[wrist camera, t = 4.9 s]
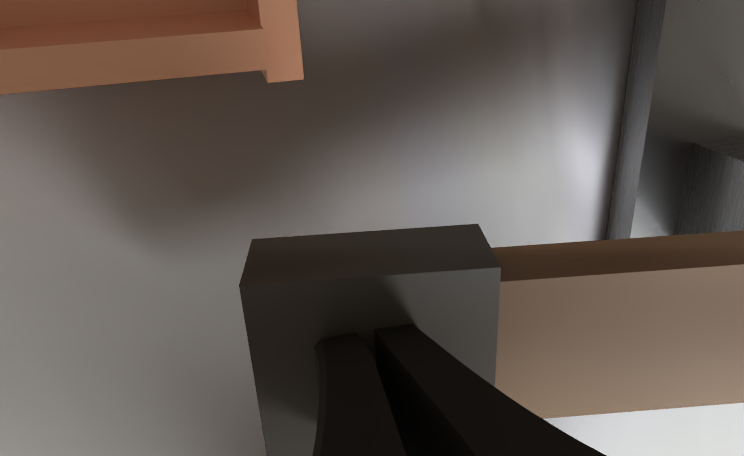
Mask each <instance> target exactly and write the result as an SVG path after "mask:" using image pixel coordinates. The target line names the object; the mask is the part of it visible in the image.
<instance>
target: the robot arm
mask: <svg viewBox="0 0 744 456" xmlns="http://www.w3.org/2000/svg"><path fill="white" fill-rule="evenodd" d="M374 332H375V350H376V364H375V362H374V359H373V356H372V354H371V353H370V351H369V349H368V348H367V346H366V344H365V343H364V341H363V340H362V339H361V337H360V336H359V335H358V333H357V332H356V333H350V334H345V335H340V336H335V337H330V338H325V339H320V340H319V341H318V343H317V344H316V345H315V346H314V352H315V361H316V371H317V380H318V389H319V406H318V418H317V429H316V437H315V444H314V450H313V455H312V456H606V455H604V454H602V453H600V452H599V451H597V450H595V449H593V448H591V447H589V446H587V445H586V444H584V443H582V442H580V441H578V440H577V439H575V438H573V437H571V436H570V435H568V434H566V433H565V432H563V431H561V430H559V429H558V428H556V427H555V426H553V425H551V424H550V423H548V422H547V421H545V420H543V419H542V418H540V417H539V416H537V415H536V414H534V413H532V412H531V411H529V410H528V409H526V408H525V407H523V406H521V405H520V404H518V403H517V402H516V401H514V400H513V399H511V398H510V397H508V396H507V395H505V394H504V393H503V392H501V391H500V390H498V389H497V388H496V387H494V386H493V385H491V384H490V383H489V382H487V381H486V380H484V379H483V378H482V377H480V376H479V375H478V374H476V373H475V372H474V371H472V370H471V369H470V368H468V367H467V366H466V365H464V364H463V363H462V362H460V361H459V360H458V359H457V358H455V357H454V356H453V355H451V354H450V353H449V352H447V351H446V350H445V349H444V348H442V347H441V346H440V345H439V344H437V343H436V342H435V341H434V340H432V339H431V338H430V337H429V336H427V335H426V334H425V333H423V332H422V331H421V330H420V329H418V328H417V327H416V326H414V325H413V324H409V325H401V326H393V327H386V328H378V329H374Z"/></svg>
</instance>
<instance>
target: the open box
mask: <svg viewBox="0 0 744 456" xmlns="http://www.w3.org/2000/svg"><path fill="white" fill-rule="evenodd" d="M258 70H261V71H262V73H263V75H264V77H265V79H266V80H267V82H268V83H272V82H282V81H292V80H303V79H304V74H303V63H302V52H301V42H300V31H299V21H298V10H297V0H0V95H2V94H12V93H23V92H34V91H44V90H55V89H66V88H76V87H87V86H98V85H108V84H119V83H130V82H140V81H151V80H162V79H172V78H183V77H194V76H204V75H215V74H226V73H236V72H247V71H258Z"/></svg>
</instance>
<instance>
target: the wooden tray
mask: <svg viewBox="0 0 744 456" xmlns="http://www.w3.org/2000/svg"><path fill="white" fill-rule="evenodd" d="M239 287H240V294H241V300H242V306H243V312H244V318H245V324H246V330H247V336H248V342H249V348H250V355H251V361H252V367H253V373H254V379H255V385H256V391H257V397H258V403H259V409H260V415H261V422H262V428H263V434H264V440H265V446H266V452H267V456H312V455H313V450H314V444H315V437H316V429H317V418H318V406H319V389H318V380H317V371H316V361H315V352H314V346H315V345H316V344H317V343H318V341H319V340H320V339H325V338H330V337H335V336H340V335H345V334H350V333H356V332H357V333H358V335H359V336H360V337H361V339H362V340H363V341H364V343H365V344H366V346H367V348H368V349H369V351H370V353H371V354H372V356H373V359H374V362H375V364H376V350H375V332H374V329H378V328H386V327H393V326H401V325H409V324H413V325H414V326H416V327H417V328H418V329H420V330H421V331H422V332H423V333H425V334H426V335H427V336H429V337H430V338H431V339H432V340H434V341H435V342H436V343H437V344H439V345H440V346H441V347H442V348H444V349H445V350H446V351H447V352H449V353H450V354H451V355H453V356H454V357H455V358H457V359H458V360H459V361H460V362H462V363H463V364H464V365H466V366H467V367H468V368H470V369H471V370H472V371H474V372H475V373H476V374H478V375H479V376H480V377H482V378H483V379H484V380H486V381H487V382H489V383H490V384H491V385H493V386H494V387H496V388H497V389H498V390H500V391H501V392H503V393H504V394H505V395H507V396H508V397H510V398H511V399H513V400H514V401H516V402H517V403H518V404H520V405H521V406H523V407H525V408H526V409H528V410H529V411H531V412H532V413H534V414H536V415H537V416H539V417H540V418H542V419H543V418H555V417H568V416H581V415H593V414H606V413H618V412H631V411H643V410H656V409H669V408H681V407H694V406H706V405H719V404H731V403H744V230H742V231H727V232H713V233H698V234H684V235H670V236H655V237H641V238H627V239H612V240H598V241H583V242H569V243H555V244H540V245H526V246H512V247H497V248H491V247H490V246H489V244H488V242H487V240H486V238H485V236H484V234H483V232H482V230H481V228H480V227H479V225H478V224H469V225H454V226H440V227H425V228H410V229H396V230H381V231H366V232H352V233H337V234H322V235H308V236H293V237H278V238H264V239H252V241H251V245H250V249H249V252H248V256H247V260H246V263H245V267H244V270H243V274H242V278H241V281H240V285H239Z"/></svg>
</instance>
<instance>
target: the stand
mask: <svg viewBox="0 0 744 456" xmlns="http://www.w3.org/2000/svg"><path fill="white" fill-rule="evenodd" d="M742 230H744V0H638V4H637V12H636V19H635V26H634V34H633V41H632V49H631V56H630V64H629V71H628V79H627V86H626V94H625V101H624V109H623V116H622V124H621V131H620V139H619V146H618V154H617V161H616V169H615V176H614V183H613V191H612V198H611V206H610V213H609V221H608V228H607V236H606V240H612V239H627V238H641V237H655V236H670V235H684V234H698V233H713V232H727V231H742Z"/></svg>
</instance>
